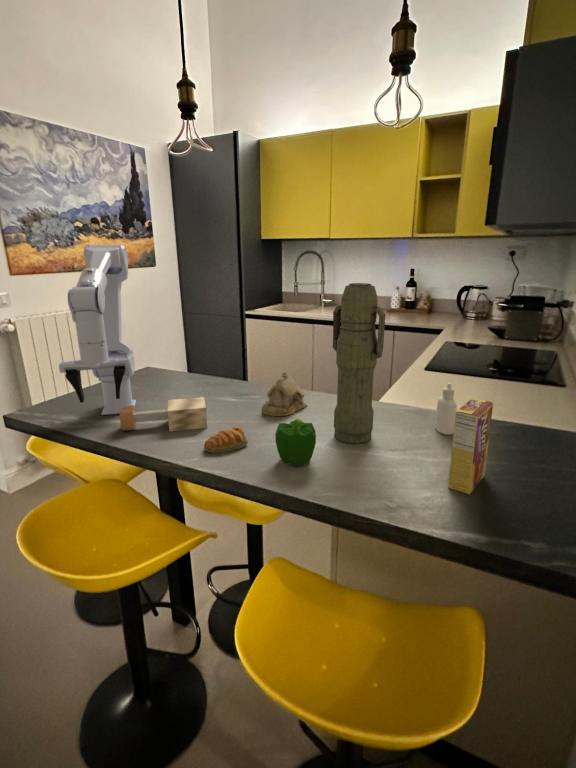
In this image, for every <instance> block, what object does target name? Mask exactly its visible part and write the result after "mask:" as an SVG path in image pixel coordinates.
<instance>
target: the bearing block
mask: <svg viewBox="0 0 576 768" xmlns="http://www.w3.org/2000/svg"><path fill="white" fill-rule="evenodd" d="M206 405H207V404H206V402H205V397H204V396H202V397H190V398H178V399H177V398H175V399H168V400H167V409H168V419H167V420H168V421H167V422H168V430H169V432H176V431H177V432H179V431H180V432H181V431H189V430H198V429H199V430H200V429H207V428H208V419H207V406H206Z"/></svg>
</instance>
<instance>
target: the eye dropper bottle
mask: <svg viewBox="0 0 576 768" xmlns="http://www.w3.org/2000/svg"><path fill="white" fill-rule="evenodd" d="M454 396H455V389H454V388H453V387H452V383H451V382H448V383H447V385H446V386H445V387H443V390H442V396H440V397H439V398H437V405H436V413H435V423H434V428H435V430H436V431H437V432H438V433H440V434H443V435H446V436H448V435H450V436H451V435H453V433H454V424H455V413H456V411H457V410H458V404H457V401H456V400H455V399H454Z"/></svg>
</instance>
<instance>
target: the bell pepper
mask: <svg viewBox="0 0 576 768" xmlns="http://www.w3.org/2000/svg"><path fill="white" fill-rule="evenodd" d="M314 427H315V426H314V424H313V423H312V422H304V421H303V420H302V419H300V418H299V417H298V418H295V419H294V420H292V421H290V422H289V423H286V422H281V423H280V422H279V423H278V425H277V428H276V430H275V445H276V449H277V453H278V456H279V458H280V460H281V461H282V463H283V464H290V465H291V466H294V467H303V466H306V465H308V464H309V462H310V461H311V459H312V457H313V455H314V451H315V447H316V442H317V441H316V439H317V434H316V432H317V431H316V429H315V428H314Z"/></svg>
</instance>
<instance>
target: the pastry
mask: <svg viewBox="0 0 576 768" xmlns="http://www.w3.org/2000/svg"><path fill="white" fill-rule="evenodd" d="M248 444H249V443H248V437H247V435H246V434H245V431H244V429H242V428H241V427H240V426H237V427H236V426H233V427H232V428H227V429H222V430H220V431H218V432H217V433H216V434H214V435H212V436H210V437H209V438H208V439H207V440H205V442H204V446H203V449H204V451H207V452H209V453H212V454H218V453H229V452H231V451H235V450H239V449H243V448H245V447H246V446H247V445H248Z"/></svg>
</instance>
